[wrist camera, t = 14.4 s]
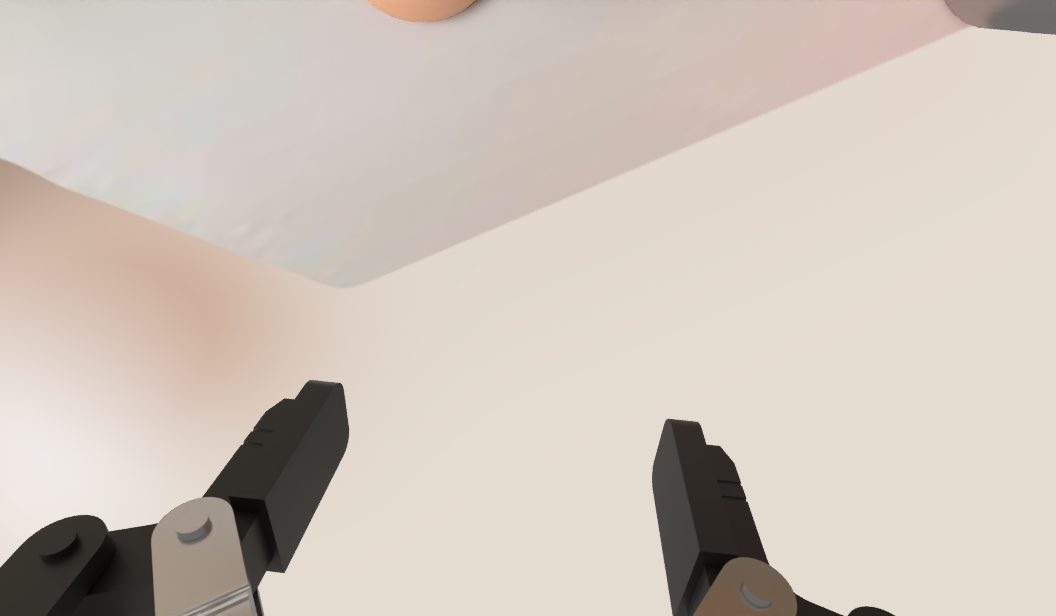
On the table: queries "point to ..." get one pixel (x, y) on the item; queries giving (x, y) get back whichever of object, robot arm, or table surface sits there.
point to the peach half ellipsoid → (421, 8)
